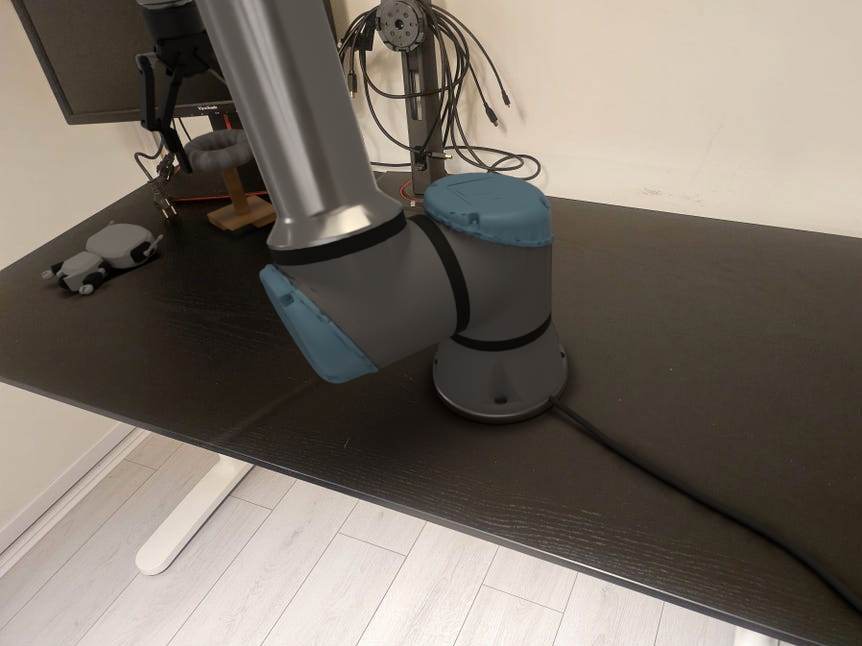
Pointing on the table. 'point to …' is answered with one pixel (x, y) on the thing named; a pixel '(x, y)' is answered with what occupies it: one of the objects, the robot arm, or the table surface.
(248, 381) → the table surface
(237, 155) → the ring
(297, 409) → the table surface
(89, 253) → the robot toy
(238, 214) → the stand
